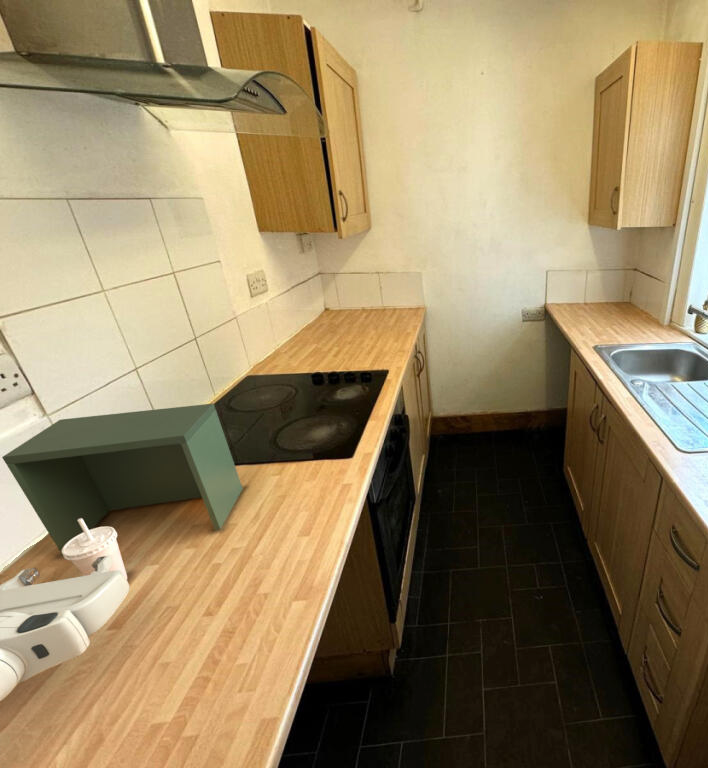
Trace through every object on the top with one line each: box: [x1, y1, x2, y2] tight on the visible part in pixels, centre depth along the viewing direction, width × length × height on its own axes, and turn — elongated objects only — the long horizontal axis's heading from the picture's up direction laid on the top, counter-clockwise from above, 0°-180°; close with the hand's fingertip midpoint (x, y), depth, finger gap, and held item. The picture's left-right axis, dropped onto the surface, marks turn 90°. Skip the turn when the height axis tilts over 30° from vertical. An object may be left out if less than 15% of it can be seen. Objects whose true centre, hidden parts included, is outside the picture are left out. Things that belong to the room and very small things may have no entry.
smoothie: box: [61, 518, 128, 580], centre depth 68 cm, size 6×6×14 cm
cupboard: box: [1, 403, 244, 556], centre depth 80 cm, size 26×13×22 cm, turn 104°
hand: (70, 565), depth 63 cm, fingers open, 8 cm apart
